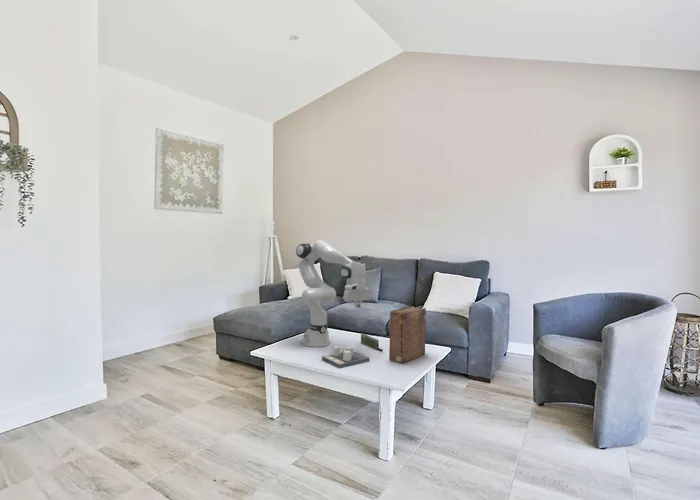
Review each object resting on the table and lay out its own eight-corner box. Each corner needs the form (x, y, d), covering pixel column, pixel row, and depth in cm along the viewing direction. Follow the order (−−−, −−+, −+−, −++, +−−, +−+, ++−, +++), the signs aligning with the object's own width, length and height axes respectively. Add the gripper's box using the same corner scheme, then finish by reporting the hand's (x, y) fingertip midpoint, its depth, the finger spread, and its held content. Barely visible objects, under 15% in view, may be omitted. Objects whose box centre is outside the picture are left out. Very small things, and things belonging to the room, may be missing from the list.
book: (412, 351, 252) (414, 305, 251) (425, 354, 245) (426, 307, 244) (389, 360, 233) (390, 311, 232) (401, 364, 227) (402, 313, 226)
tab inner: (332, 355, 234) (332, 347, 234) (337, 354, 236) (337, 346, 236) (335, 356, 232) (335, 348, 232) (340, 355, 234) (340, 347, 234)
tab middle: (345, 355, 234) (346, 347, 233) (350, 354, 236) (350, 346, 235) (349, 357, 231) (349, 348, 231) (353, 356, 233) (353, 347, 233)
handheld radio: (364, 342, 272) (384, 352, 250) (360, 343, 271) (380, 353, 249) (364, 333, 272) (384, 341, 250) (360, 333, 270) (380, 342, 248)
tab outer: (343, 360, 226) (343, 351, 225) (347, 358, 228) (348, 350, 227) (346, 361, 223) (346, 352, 223) (351, 360, 225) (351, 351, 225)
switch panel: (322, 359, 232) (322, 356, 232) (351, 353, 245) (351, 350, 245) (339, 368, 218) (339, 364, 218) (369, 361, 231) (369, 357, 231)
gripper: (367, 284, 254) (367, 305, 255) (342, 286, 242) (342, 308, 242) (374, 285, 249) (373, 306, 250) (348, 287, 237) (348, 309, 237)
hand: (357, 307), depth 246 cm, fingers closed
